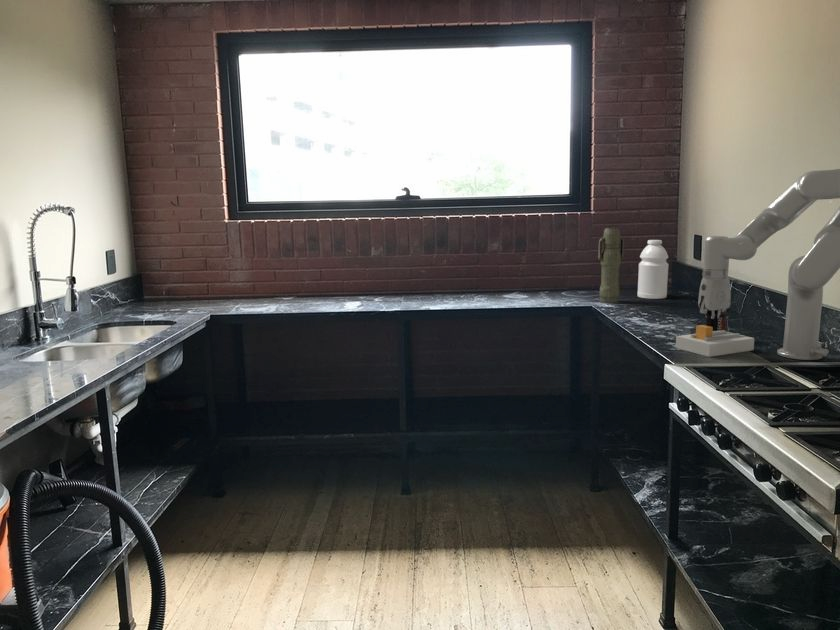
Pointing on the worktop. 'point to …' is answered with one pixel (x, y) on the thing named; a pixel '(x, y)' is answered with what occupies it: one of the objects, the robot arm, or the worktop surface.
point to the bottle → (653, 271)
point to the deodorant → (721, 321)
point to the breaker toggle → (703, 331)
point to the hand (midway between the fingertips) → (711, 329)
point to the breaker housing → (715, 343)
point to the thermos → (610, 264)
